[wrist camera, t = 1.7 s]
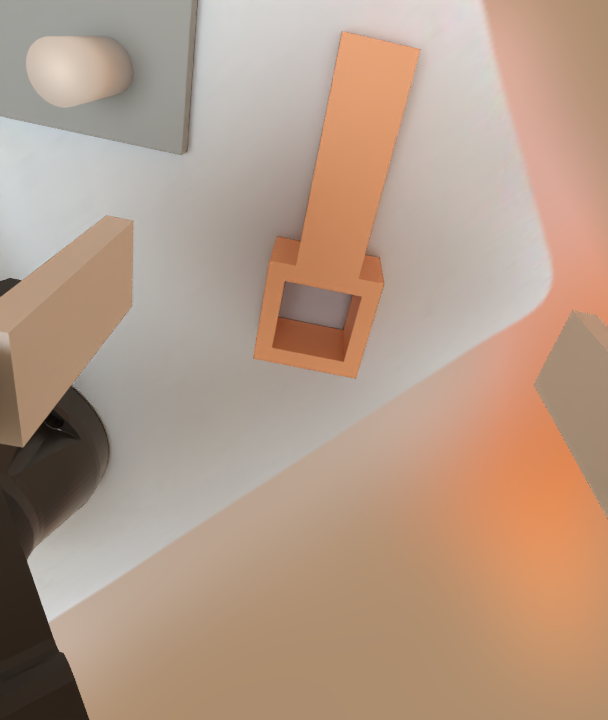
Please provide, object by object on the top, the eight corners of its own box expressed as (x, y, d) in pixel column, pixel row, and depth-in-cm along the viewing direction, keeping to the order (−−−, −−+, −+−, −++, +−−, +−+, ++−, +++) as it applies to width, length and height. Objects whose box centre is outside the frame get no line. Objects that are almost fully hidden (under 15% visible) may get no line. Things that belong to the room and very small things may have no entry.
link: (354, 345, 35) (356, 378, 32) (261, 327, 35) (253, 358, 32) (438, 54, 26) (452, 56, 23) (313, 25, 26) (309, 23, 23)
